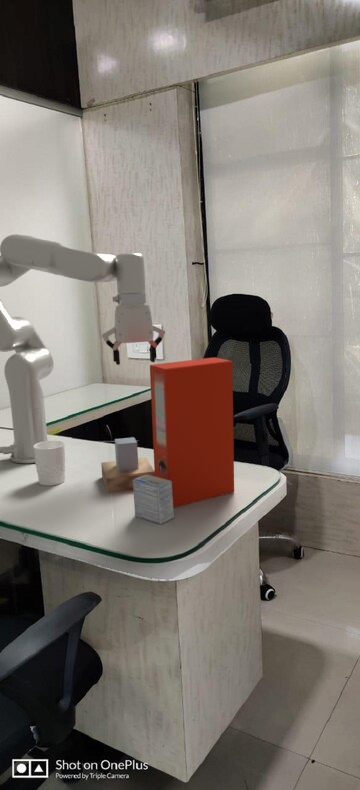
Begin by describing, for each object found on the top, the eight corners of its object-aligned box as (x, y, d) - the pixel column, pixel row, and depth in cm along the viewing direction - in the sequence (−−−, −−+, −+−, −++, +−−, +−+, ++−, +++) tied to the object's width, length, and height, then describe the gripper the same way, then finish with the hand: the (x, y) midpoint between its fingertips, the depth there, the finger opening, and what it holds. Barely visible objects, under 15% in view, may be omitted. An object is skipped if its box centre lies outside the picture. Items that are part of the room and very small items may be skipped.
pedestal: (107, 492, 150) (106, 476, 149) (102, 477, 161) (101, 462, 161) (155, 486, 153) (154, 471, 152) (146, 472, 164) (146, 457, 163)
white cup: (33, 480, 161) (30, 443, 159) (62, 474, 165) (59, 439, 163) (41, 488, 154) (37, 450, 152) (71, 483, 158) (68, 445, 156)
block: (118, 471, 153) (117, 444, 152) (116, 465, 158) (114, 439, 156) (138, 468, 154) (137, 442, 153) (135, 463, 159) (133, 437, 158)
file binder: (235, 492, 146) (232, 360, 140) (171, 508, 138) (165, 368, 132) (217, 483, 153) (213, 357, 147) (155, 497, 145) (149, 364, 139)
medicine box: (174, 518, 133) (172, 480, 131) (160, 525, 129) (158, 486, 128) (148, 510, 138) (146, 473, 136) (134, 516, 135) (132, 479, 133)
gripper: (101, 302, 159) (105, 367, 163) (166, 299, 163) (168, 362, 166) (98, 301, 166) (102, 363, 170) (160, 298, 170) (163, 359, 173)
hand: (135, 362), depth 168 cm, fingers open, 9 cm apart
